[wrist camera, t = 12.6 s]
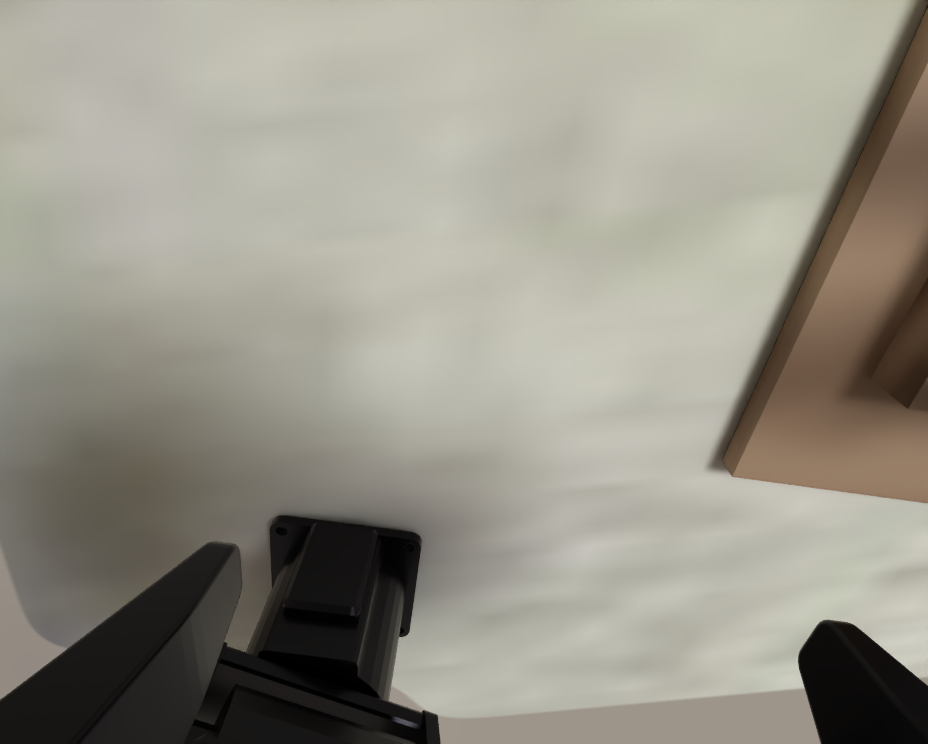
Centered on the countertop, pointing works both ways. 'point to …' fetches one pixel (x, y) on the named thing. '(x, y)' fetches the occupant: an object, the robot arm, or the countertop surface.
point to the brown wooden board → (857, 327)
